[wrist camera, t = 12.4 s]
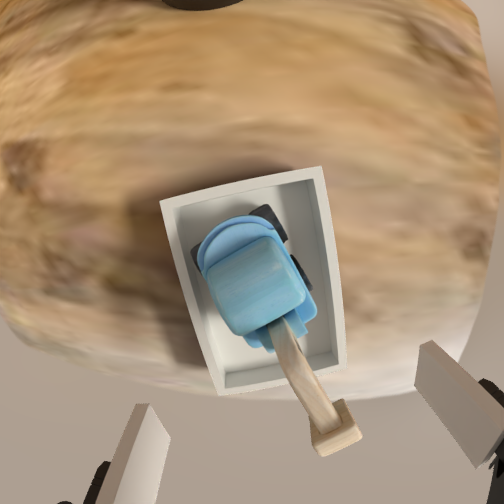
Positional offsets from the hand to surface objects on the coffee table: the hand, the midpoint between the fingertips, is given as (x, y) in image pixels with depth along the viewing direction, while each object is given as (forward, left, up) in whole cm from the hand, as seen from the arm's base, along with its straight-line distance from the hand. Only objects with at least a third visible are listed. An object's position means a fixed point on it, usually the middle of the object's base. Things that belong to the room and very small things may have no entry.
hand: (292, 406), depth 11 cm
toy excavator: (0, 0, -18) cm, 18 cm away
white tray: (0, 0, -21) cm, 21 cm away
